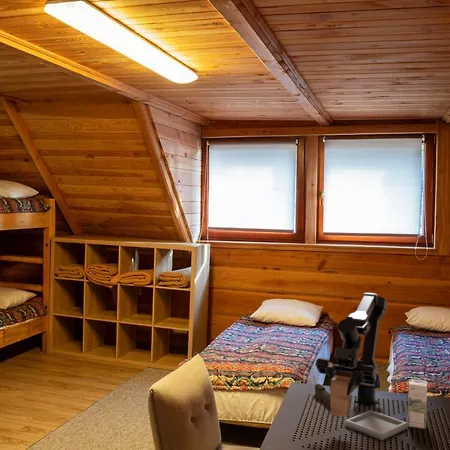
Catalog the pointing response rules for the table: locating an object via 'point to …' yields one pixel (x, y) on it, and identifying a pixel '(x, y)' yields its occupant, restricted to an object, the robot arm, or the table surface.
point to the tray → (376, 424)
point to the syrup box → (417, 403)
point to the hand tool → (322, 393)
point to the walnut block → (340, 396)
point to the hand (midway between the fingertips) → (339, 393)
